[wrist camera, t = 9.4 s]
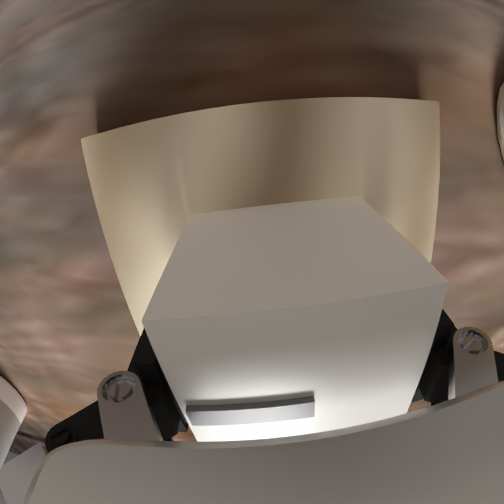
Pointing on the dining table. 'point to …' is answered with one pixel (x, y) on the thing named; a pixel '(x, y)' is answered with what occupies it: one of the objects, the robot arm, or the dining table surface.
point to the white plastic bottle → (9, 416)
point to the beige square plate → (259, 172)
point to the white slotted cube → (293, 319)
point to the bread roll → (501, 119)
